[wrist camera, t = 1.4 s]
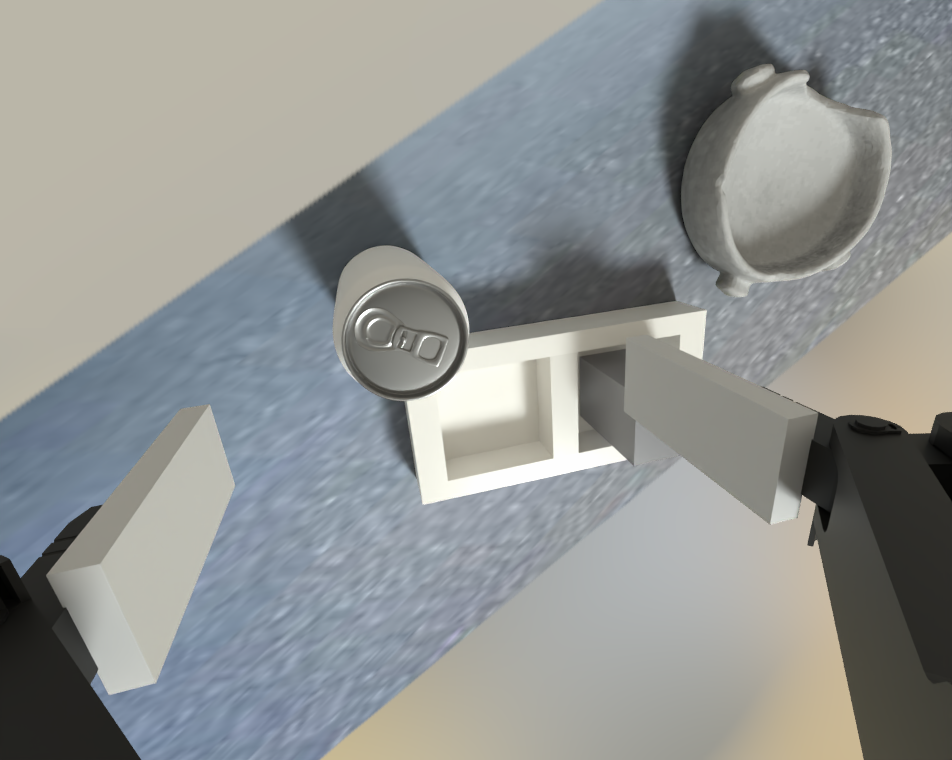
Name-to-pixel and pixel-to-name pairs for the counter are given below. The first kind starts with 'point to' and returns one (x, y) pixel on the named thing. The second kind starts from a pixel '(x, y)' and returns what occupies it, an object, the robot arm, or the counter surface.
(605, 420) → the seated block
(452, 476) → the white flat tray
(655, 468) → the counter surface
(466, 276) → the counter surface
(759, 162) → the dish
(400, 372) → the can
